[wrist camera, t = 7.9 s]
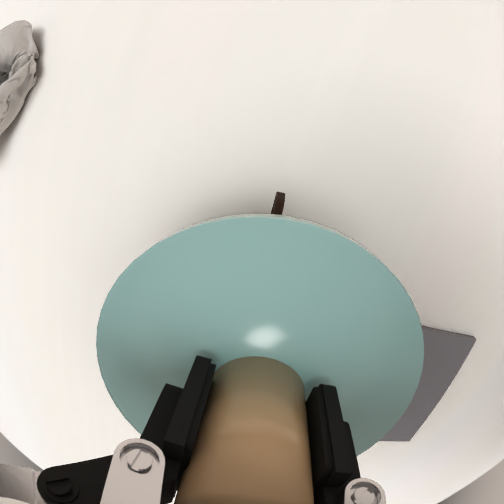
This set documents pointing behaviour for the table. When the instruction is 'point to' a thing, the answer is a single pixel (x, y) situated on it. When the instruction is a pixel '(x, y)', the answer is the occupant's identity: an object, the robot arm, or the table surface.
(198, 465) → the lid
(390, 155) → the table surface
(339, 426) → the robot arm
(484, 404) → the table surface
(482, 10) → the table surface
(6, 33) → the skull
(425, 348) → the mat
